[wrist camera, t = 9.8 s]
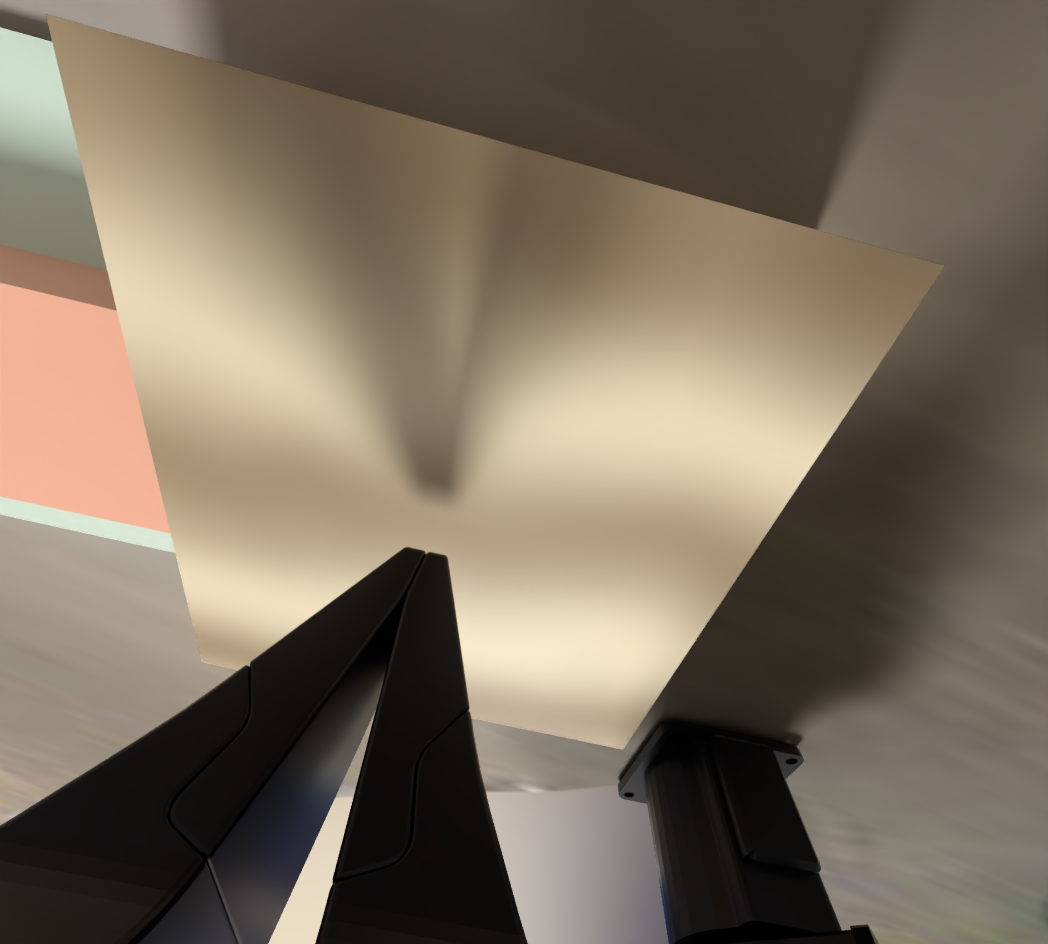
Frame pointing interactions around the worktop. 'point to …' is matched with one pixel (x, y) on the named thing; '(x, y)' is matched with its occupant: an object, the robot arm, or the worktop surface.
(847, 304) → the tan block
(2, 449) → the salmon pink block
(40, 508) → the mat
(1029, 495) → the worktop surface
